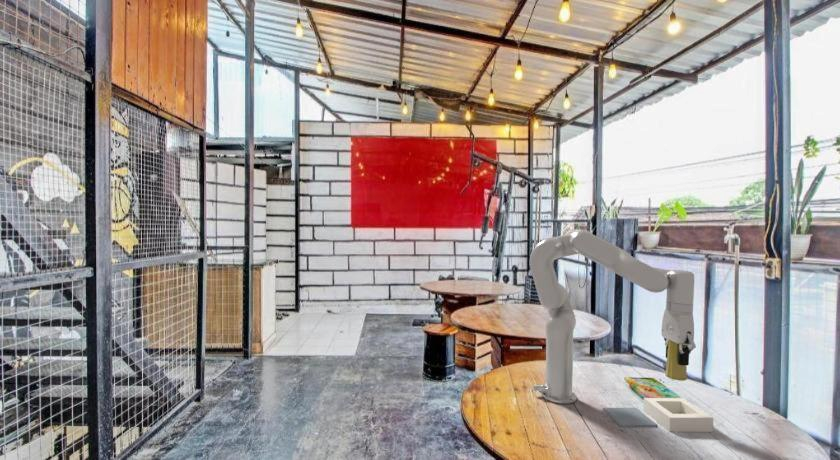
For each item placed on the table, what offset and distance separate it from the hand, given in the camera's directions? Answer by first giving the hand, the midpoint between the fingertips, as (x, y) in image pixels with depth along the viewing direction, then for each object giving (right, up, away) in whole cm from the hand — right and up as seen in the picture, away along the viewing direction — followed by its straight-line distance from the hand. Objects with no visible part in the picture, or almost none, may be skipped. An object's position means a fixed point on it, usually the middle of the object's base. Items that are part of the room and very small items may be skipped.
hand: (676, 360), depth 132 cm
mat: (-15, -20, +2) cm, 25 cm away
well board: (0, -20, 0) cm, 20 cm away
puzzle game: (+2, -20, +19) cm, 28 cm away
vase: (0, -6, 0) cm, 6 cm away
